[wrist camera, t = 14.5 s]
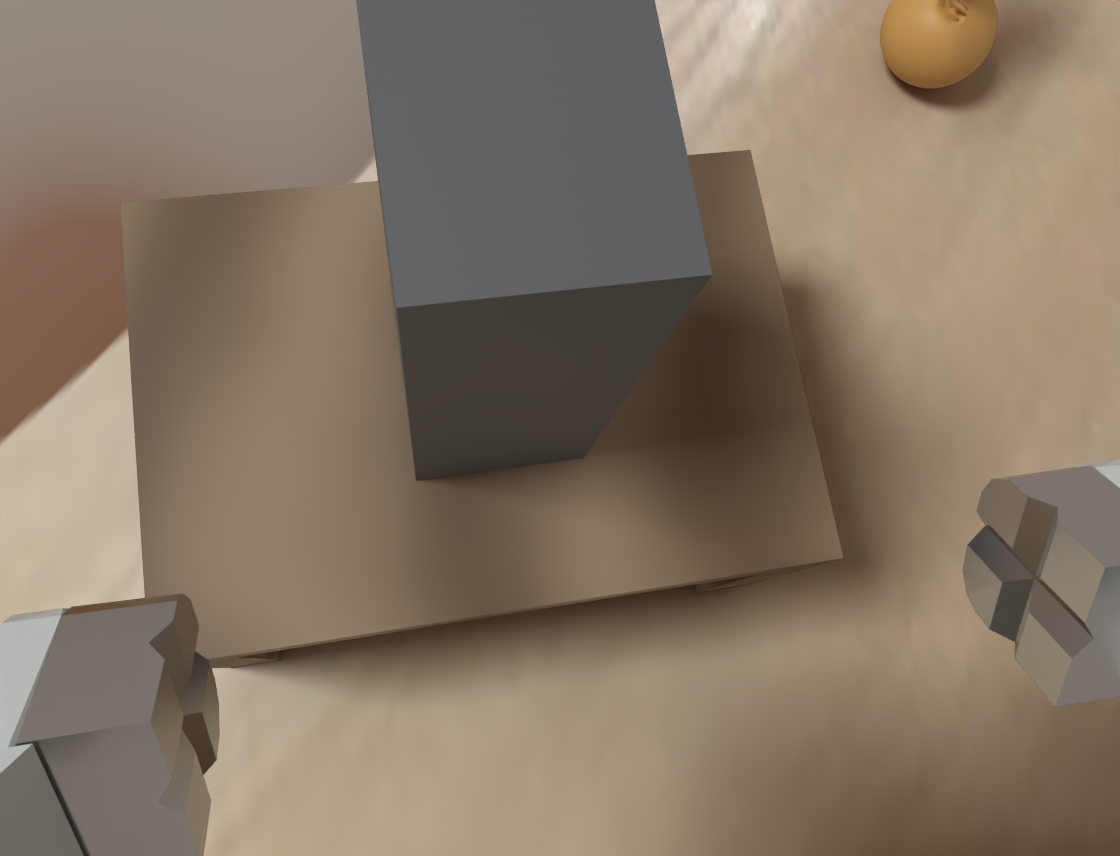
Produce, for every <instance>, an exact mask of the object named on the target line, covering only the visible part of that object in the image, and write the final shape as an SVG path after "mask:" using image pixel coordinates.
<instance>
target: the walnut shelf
mask: <svg viewBox="0 0 1120 856" xmlns="http://www.w3.org/2000/svg"><path fill="white" fill-rule="evenodd" d="M687 157H688V161H689V166H690V171H691V176H692V180H693V185H694V190H695V195H696V199H697V204H698V209H699V213H700V218H701V223H702V228H703V232H704V237H705V242H706V247H707V251H708V256H709V261H710V266H711V270H712V276H711V277H710V279H709V280H708V282H707V283H706V285H705V286H704V287H703V289H702V290H701V292H700V293H699V295H698V296H697V297H696V299H695V300H694V302H693V303H692V304H691V306H690V307H689V309H688V310H687V312H686V313H685V314H684V316H683V317H682V319H681V320H680V322H679V323H678V324H677V326H676V327H675V329H674V330H673V332H672V333H671V334H670V336H669V337H668V339H667V340H666V341H665V343H664V344H663V346H662V347H661V349H660V350H659V351H658V353H657V354H656V356H655V357H654V359H653V360H652V361H651V363H650V364H649V366H648V367H647V369H646V370H645V371H644V373H643V374H642V376H641V377H640V378H639V380H638V381H637V383H636V384H635V386H634V387H633V388H632V390H631V391H630V393H629V394H628V396H627V397H626V398H625V400H624V401H623V403H622V404H621V406H620V407H619V408H618V410H617V411H616V413H615V414H614V415H613V417H612V418H611V420H610V421H609V423H608V424H607V425H606V427H605V428H604V430H603V431H602V433H601V434H600V435H599V437H598V438H597V440H596V441H595V443H594V444H593V445H592V447H591V448H590V450H589V451H588V453H587V454H586V455H585V457H584V458H581V459H573V460H566V461H558V462H551V463H543V464H536V465H529V466H521V467H514V468H506V469H499V470H491V471H484V472H476V473H469V474H461V475H454V476H446V477H439V478H432V479H424V480H417V481H416V477H415V470H414V462H413V454H412V446H411V439H410V431H409V423H408V415H407V408H406V400H405V392H404V384H403V377H402V369H401V361H400V353H399V346H398V338H397V330H396V322H395V314H394V307H393V299H392V290H391V282H390V274H389V266H388V257H387V249H386V241H385V233H384V224H383V216H382V208H381V200H380V191H379V183H378V181H374V182H362V183H350V184H339V185H326V186H314V187H303V188H290V189H279V190H266V191H255V192H243V193H231V194H219V195H207V196H195V197H184V198H171V199H160V200H147V201H135V202H123V203H120V205H121V220H122V237H123V253H124V269H125V285H126V301H127V316H128V333H129V349H130V366H131V382H132V398H133V414H134V430H135V446H136V462H137V478H138V494H139V510H140V526H141V543H142V559H143V575H144V591H145V598H149V597H158V596H166V595H174V594H184V595H186V596H187V597H188V598H190V599H191V602H192V605H193V608H194V611H195V614H196V617H197V620H198V623H199V631H198V637H197V643H196V648H195V651H196V652H197V653H199V654H200V655H202V656H203V657H205V658H206V659H208V660H209V661H210V664H211V667H212V668H231V667H237V666H244V665H250V664H256V663H262V662H268V661H275V660H281V659H280V650H286V649H293V648H299V647H305V646H311V645H318V644H324V643H330V642H337V641H343V640H349V639H355V638H362V637H368V636H374V635H380V634H387V633H393V632H399V631H406V630H412V629H418V628H424V627H431V626H437V625H443V624H449V623H456V622H462V621H468V620H475V619H481V618H487V617H493V616H500V615H506V614H512V613H518V612H525V611H531V610H537V609H544V608H550V607H556V606H562V605H569V604H575V603H581V602H587V601H594V600H600V599H606V598H613V597H619V596H625V595H631V594H638V593H644V592H650V591H656V590H663V589H669V588H675V587H682V586H688V585H694V584H695V587H696V592H703V591H710V590H716V589H722V588H728V587H734V586H741V585H745V584H748V583H752V582H756V581H760V580H763V579H767V578H771V577H775V576H778V575H782V574H786V573H790V572H793V571H797V570H801V569H805V568H808V567H812V566H816V565H819V564H823V563H827V562H831V561H834V560H838V559H842V558H843V554H842V549H841V545H840V540H839V536H838V532H837V527H836V523H835V519H834V514H833V510H832V505H831V501H830V497H829V492H828V488H827V484H826V479H825V475H824V470H823V466H822V462H821V457H820V453H819V449H818V444H817V440H816V435H815V431H814V427H813V422H812V418H811V414H810V409H809V405H808V400H807V396H806V392H805V387H804V383H803V378H802V374H801V370H800V365H799V361H798V357H797V352H796V348H795V343H794V339H793V335H792V330H791V326H790V322H789V317H788V313H787V308H786V304H785V300H784V295H783V291H782V287H781V282H780V278H779V273H778V269H777V265H776V260H775V256H774V252H773V247H772V243H771V238H770V234H769V230H768V225H767V221H766V217H765V212H764V208H763V203H762V199H761V195H760V190H759V186H758V182H757V177H756V173H755V168H754V164H753V160H752V155H751V151H750V150H745V151H733V152H721V153H709V154H697V155H687Z"/></svg>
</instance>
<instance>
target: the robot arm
mask: <svg viewBox="0 0 1120 856" xmlns="http://www.w3.org/2000/svg"><path fill="white" fill-rule="evenodd" d="M977 513H978V515H979V516H980V518H981V520H982V521H983V523H984V525H985V527H984V528H983V529H982V530H981V531H980V532H979V533H978V534H977V535H976V536H975V537H974V538H973V540H972V541H971V542H970V543H969V544H968V546H967V551H966V555H965V560H964V565H963V575H964V581H965V587H966V593H967V596H968V598H969V600H970V602H971V604H972V606H973V608H974V610H975V612H976V614H977V615H978V616H979V617H980V619H981V620H982V621H983V622H984V624H985V625H986V626H987V627H988V628H989V629H990V630H992V631H994V632H996V633H998V634H1000V635H1002V636H1004V637H1006V638H1008V639H1010V640H1012V641H1014V642H1015V661H1016V662H1017V663H1018V664H1019V665H1020V667H1021V668H1022V669H1023V670H1024V671H1025V672H1026V674H1027V675H1028V676H1029V677H1030V678H1031V679H1032V681H1033V682H1034V683H1035V684H1036V685H1037V687H1038V688H1039V689H1040V690H1041V691H1042V692H1043V694H1044V695H1045V696H1046V697H1047V698H1048V699H1049V701H1050V702H1051V703H1052V704H1053V705H1054V706H1055V707H1057V706H1063V705H1070V704H1076V703H1082V702H1089V701H1095V700H1102V699H1108V698H1115V697H1120V458H1119V459H1113V460H1107V461H1101V462H1095V463H1089V464H1083V465H1079V466H1077V467H1073V468H1065V469H1058V470H1052V471H1045V472H1038V473H1031V474H1025V475H1018V476H1011V477H1004V478H997V479H992V480H991V481H990V482H989V483H988V485H987V486H986V487H985V489H984V490H983V491H982V493H981V497H980V501H979V504H978V508H977ZM198 631H199V623H198V620H197V617H196V614H195V611H194V608H193V605H192V602H191V599H190V598H188V597H187V596H186V595H184V594H174V595H166V596H158V597H149V598H141V599H133V600H124V601H116V602H108V603H99V604H91V605H83V606H75V607H71V608H70V609H64V608H63V609H55V610H48V611H40V612H32V613H24V614H17V615H12V616H10V617H9V618H8V619H7V620H5V621H4V622H3V623H1V625H0V856H203V855H204V848H205V841H206V834H207V827H208V820H209V813H210V805H211V798H210V795H209V792H208V789H207V786H206V783H205V779H204V776H203V775H204V774H205V773H206V771H207V770H208V769H209V768H210V767H211V766H212V765H213V763H214V762H215V761H216V760H217V752H218V743H219V735H220V731H219V701H218V695H217V689H216V682H215V678H214V674H213V671H212V667H211V664H210V661H209V660H208V659H206V658H205V657H203V656H202V655H200V654H199V653H197V652H196V651H195V648H196V643H197V637H198Z"/></svg>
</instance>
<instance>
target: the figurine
mask: <svg viewBox="0 0 1120 856" xmlns="http://www.w3.org/2000/svg"><path fill="white" fill-rule="evenodd" d="M997 25H998V16H997V9H996V5H995V2H994V0H892V1H891V3H890V5H889V6H888V8H887V10H886V12H885V15H884V18H883V21H882V25H881V31H880V44H881V50H882V54H883V57H884V59H885V61H886V63H887V65H888V67H889V68H890V69H891V71H892V72H893V73H894V74H895V75H896V76H897V77H898V78H900V79H901V80H903V81H904V82H906V83H908V84H910V85H913V86H916V87H921V88H940V87H945V86H949V85H952V84H954V83H956V82H959V81H960V80H962V79H964V78H966V77H967V76H968V75H970V74H971V73H972V72H973V71H975V70H976V69H977V68H978V67H979V66H980V64H981V63H982V62H983V61H984V59H985V58H986V57H987V55H988V53H989V52H990V50H991V48H992V45H993V43H994V40H995V37H996V32H997Z"/></svg>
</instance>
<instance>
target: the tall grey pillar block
mask: <svg viewBox="0 0 1120 856" xmlns="http://www.w3.org/2000/svg"><path fill="white" fill-rule="evenodd" d="M356 1H357V10H358V18H359V26H360V35H361V43H362V51H363V58H364V67H365V76H366V83H367V91H368V100H369V109H370V117H371V125H372V134H373V142H374V150H375V158H376V167H377V175H378V183H379V191H380V200H381V208H382V216H383V224H384V233H385V241H386V249H387V257H388V266H389V274H390V282H391V290H392V299H393V307H394V314H395V322H396V330H397V338H398V346H399V353H400V361H401V369H402V377H403V384H404V392H405V400H406V408H407V415H408V423H409V431H410V439H411V446H412V454H413V462H414V470H415V477H416V481H417V480H424V479H432V478H439V477H446V476H454V475H461V474H469V473H476V472H484V471H491V470H499V469H506V468H514V467H521V466H529V465H536V464H543V463H551V462H558V461H566V460H573V459H581V458H584V457H585V455H586V454H587V453H588V451H589V450H590V448H591V447H592V445H593V444H594V443H595V441H596V440H597V438H598V437H599V435H600V434H601V433H602V431H603V430H604V428H605V427H606V425H607V424H608V423H609V421H610V420H611V418H612V417H613V415H614V414H615V413H616V411H617V410H618V408H619V407H620V406H621V404H622V403H623V401H624V400H625V398H626V397H627V396H628V394H629V393H630V391H631V390H632V388H633V387H634V386H635V384H636V383H637V381H638V380H639V378H640V377H641V376H642V374H643V373H644V371H645V370H646V369H647V367H648V366H649V364H650V363H651V361H652V360H653V359H654V357H655V356H656V354H657V353H658V351H659V350H660V349H661V347H662V346H663V344H664V343H665V341H666V340H667V339H668V337H669V336H670V334H671V333H672V332H673V330H674V329H675V327H676V326H677V324H678V323H679V322H680V320H681V319H682V317H683V316H684V314H685V313H686V312H687V310H688V309H689V307H690V306H691V304H692V303H693V302H694V300H695V299H696V297H697V296H698V295H699V293H700V292H701V290H702V289H703V287H704V286H705V285H706V283H707V282H708V280H709V279H710V277H711V276H712V270H711V266H710V261H709V256H708V251H707V247H706V242H705V237H704V232H703V228H702V223H701V218H700V213H699V209H698V204H697V199H696V195H695V190H694V185H693V180H692V176H691V171H690V166H689V161H688V157H687V152H686V147H685V142H684V138H683V133H682V128H681V123H680V119H679V114H678V109H677V105H676V100H675V95H674V90H673V86H672V81H671V76H670V71H669V67H668V62H667V57H666V52H665V48H664V43H663V38H662V33H661V29H660V24H659V19H658V15H657V10H656V5H655V0H356Z"/></svg>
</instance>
